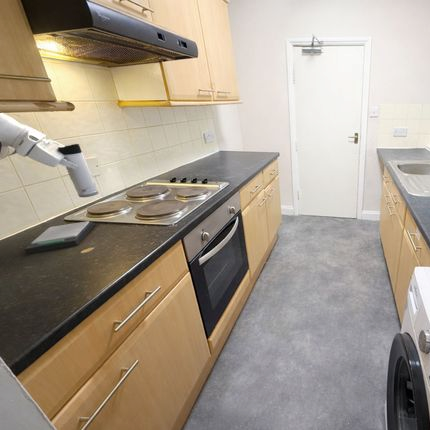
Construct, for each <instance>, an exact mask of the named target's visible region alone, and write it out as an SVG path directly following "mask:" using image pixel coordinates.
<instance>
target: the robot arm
mask: <svg viewBox="0 0 430 430" xmlns="http://www.w3.org/2000/svg"><path fill="white" fill-rule="evenodd" d="M65 146H66V145H65V144H62V143H61V142H58V141H56V140H54V139H51V138H47V134H45V133H43V132H40V131H39V130H37V129H35V128H33V127H31V126H30V125H27V124H23V123H21V122H18V121H17V120H16V119H15V118H13V117H11V116H9V114H5V113H4V112H2V113H0V161H1V160H4V159H6V158H7V157H9V156H13V155H16V154H17V155H19V156H20V157H24V158H25V157H28V158H29V159H31V160H33V161H35V162H38V163H40V164H43V165H45V166H48V167H52V168H55V167H57V166H59V165H60V166H63V167H65V168H66V167H70V168H72V169H74V170H76V169H77V168H78V165H77V164H75V163H72V162H69V161H67V160H66V159H64V157H65V155H63V154H62V153H61V152H59V150H58V147H65Z"/></svg>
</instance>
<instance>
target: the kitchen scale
mask: <svg viewBox="0 0 430 430" xmlns="http://www.w3.org/2000/svg"><path fill="white" fill-rule="evenodd" d="M95 226H96V225H95V223H94V221H90V220H86V221H81V222H75V223H68V224H62V225H54V226H49V227H48V228H47V229H46V230H44V232H42V233H41V234H40V235H39V236H38V237H36V238H35V239H34V240H33V241H32V242H31V243H30V244H28V245H27V246H26V247H25V248H24V251H25V253H26V254H27V255H30V254H34V253H40V252H47V251H52V250H57V249H65V248H69V247H74V246H79V244H80V243H81V242H82V241H83V240H84V239H85V238H86V236H87V235H88V234H89V233H90V232H91V230H92V229H93V228H94V227H95Z"/></svg>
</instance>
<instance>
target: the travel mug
mask: <svg viewBox="0 0 430 430" xmlns="http://www.w3.org/2000/svg"><path fill="white" fill-rule="evenodd" d="M64 146H65V147H58V150H59V152H61V153H62V154H63V155H65V157H64V159H66V160H67V161H69V162H72V163H75V164H77V165H78V168H77V169H76V170H74V169H72V168H70V167H66V166H65V168H66V171H67V173H68V176H69V178H70V180H71V182H72V185H73V186H74V189H75V190H76V193H77V196H78V197H79V198H90V197H94V196H97V195H98V194H99V193H100V192H99V190H98V187H97V185H96V182H95V179H94V178H93V174H92V173H91V170H90V167H89V165H88V162H87V160H86V157H85V156H84V153H83V151H82V149H81V146H80V144H79V143H73V144H70V145H64Z"/></svg>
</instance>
